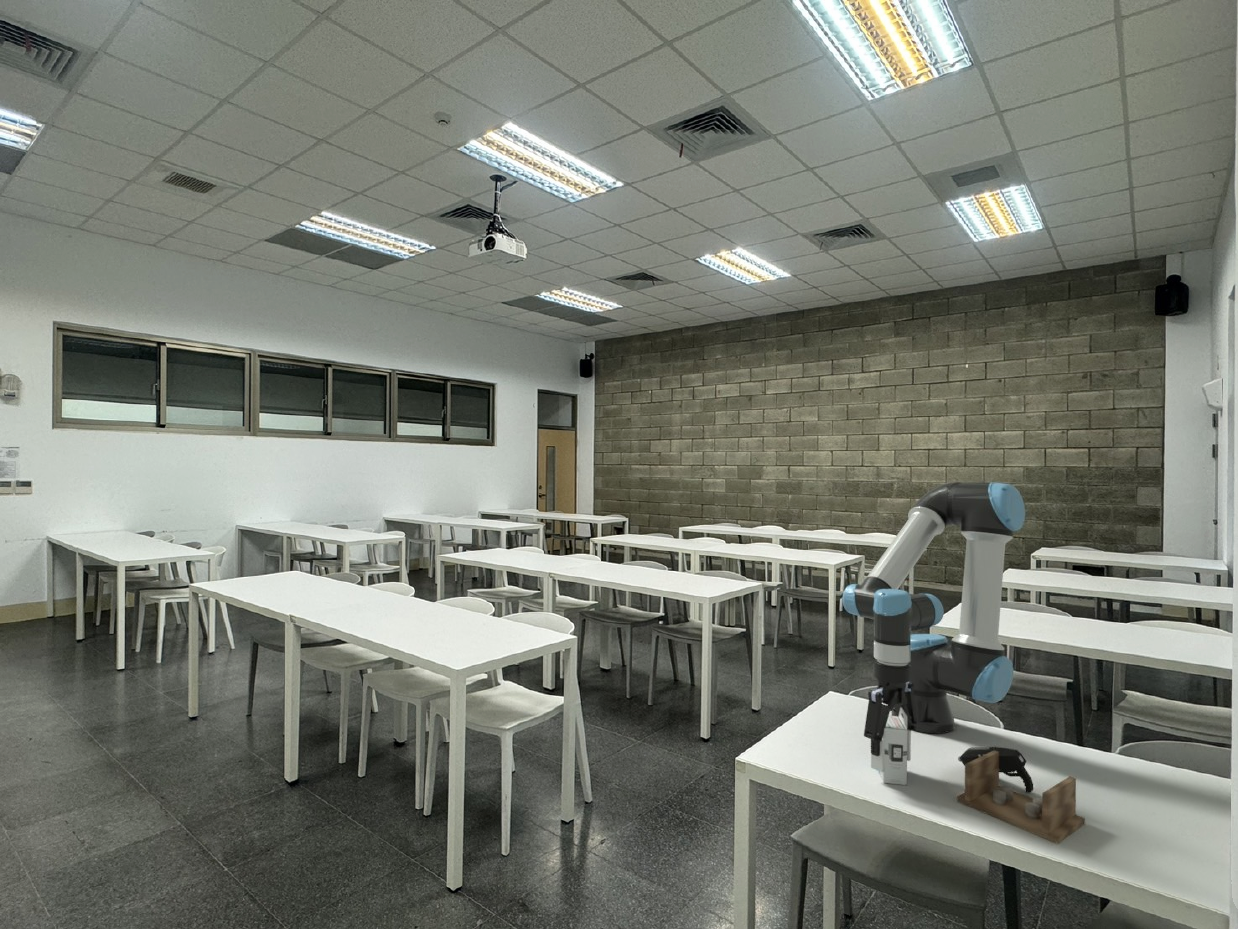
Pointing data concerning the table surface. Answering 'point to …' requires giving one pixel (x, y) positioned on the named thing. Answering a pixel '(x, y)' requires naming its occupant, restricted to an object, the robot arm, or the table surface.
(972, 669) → the robot arm
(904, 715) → the ink box
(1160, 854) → the table surface
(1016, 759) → the gun
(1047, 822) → the peg cradle
